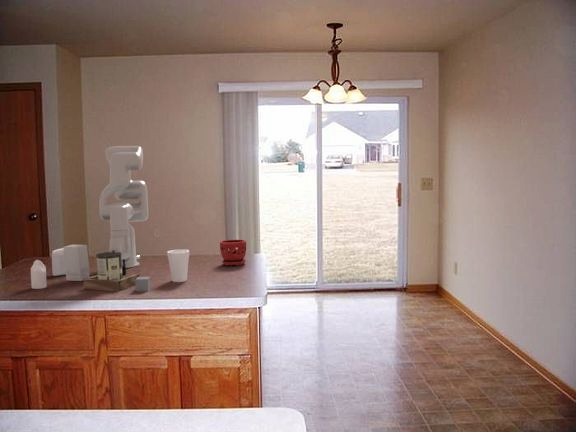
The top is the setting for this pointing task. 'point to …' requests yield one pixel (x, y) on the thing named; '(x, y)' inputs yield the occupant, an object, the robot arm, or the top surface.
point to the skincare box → (76, 262)
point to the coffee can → (109, 266)
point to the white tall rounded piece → (38, 275)
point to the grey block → (143, 284)
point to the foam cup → (178, 264)
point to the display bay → (109, 283)
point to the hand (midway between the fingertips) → (121, 275)
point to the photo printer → (58, 262)
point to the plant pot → (236, 255)
